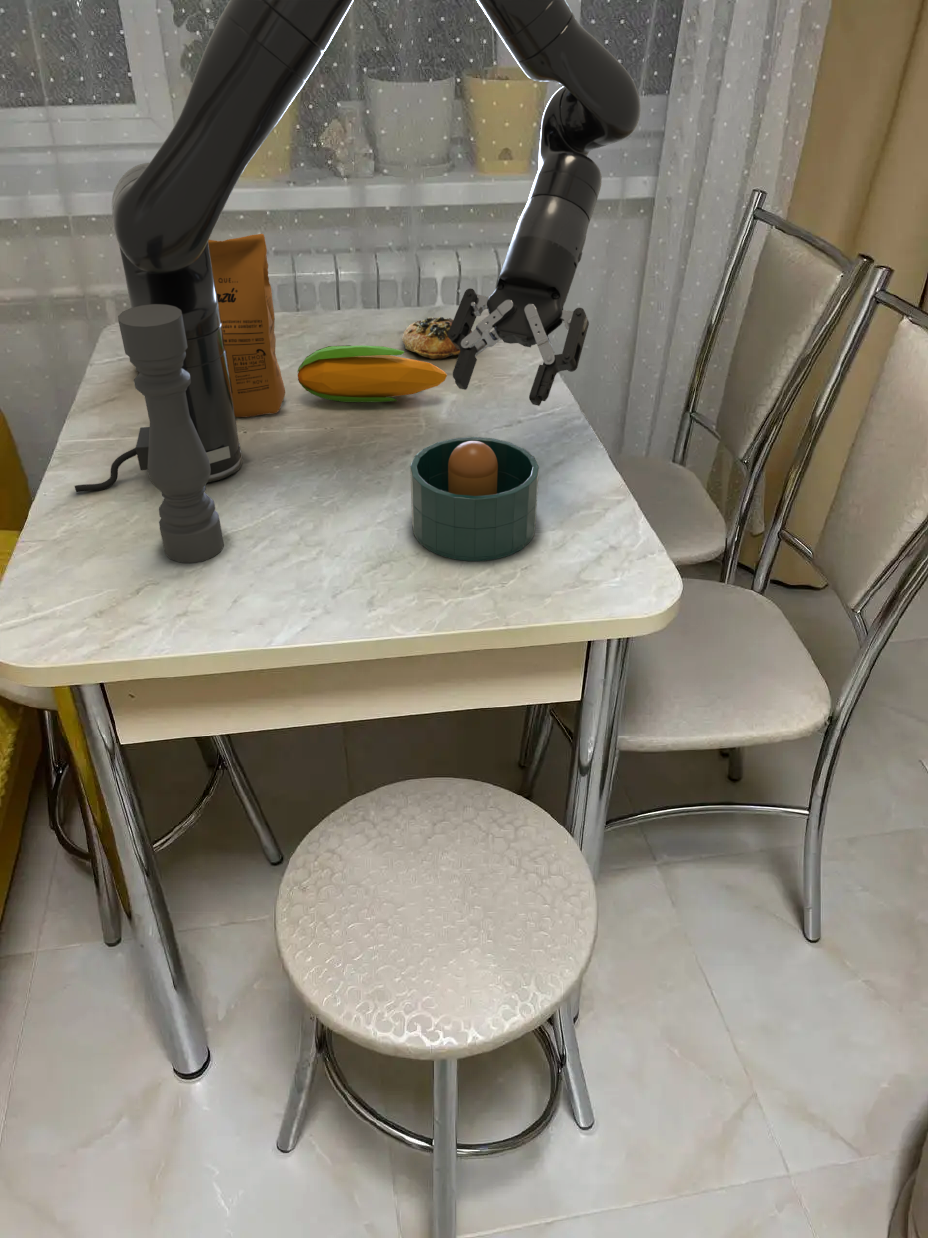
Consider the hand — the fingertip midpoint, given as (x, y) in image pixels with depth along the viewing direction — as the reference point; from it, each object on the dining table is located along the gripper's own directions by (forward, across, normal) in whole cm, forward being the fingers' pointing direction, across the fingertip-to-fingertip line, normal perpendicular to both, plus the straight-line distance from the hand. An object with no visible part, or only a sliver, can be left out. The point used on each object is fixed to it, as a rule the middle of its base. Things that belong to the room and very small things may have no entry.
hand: (496, 394), depth 103 cm
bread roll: (-18, -27, +37) cm, 49 cm away
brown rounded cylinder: (+13, 0, +6) cm, 14 cm away
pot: (+13, 0, +6) cm, 14 cm away
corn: (-3, -26, +23) cm, 35 cm away
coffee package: (+3, -42, +16) cm, 45 cm away
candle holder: (+25, -25, -6) cm, 36 cm away
